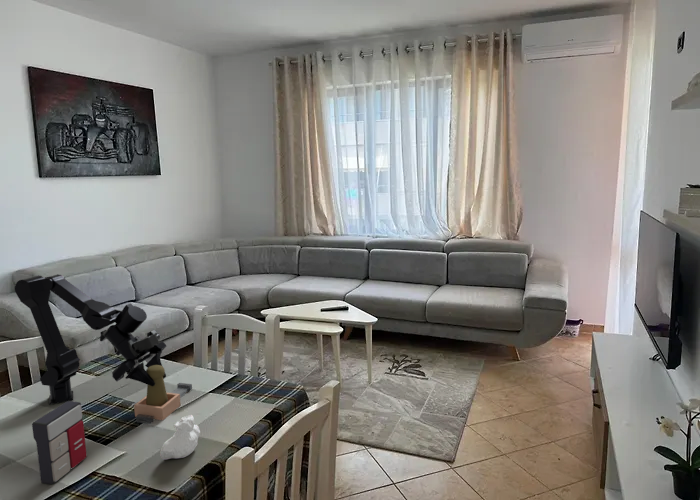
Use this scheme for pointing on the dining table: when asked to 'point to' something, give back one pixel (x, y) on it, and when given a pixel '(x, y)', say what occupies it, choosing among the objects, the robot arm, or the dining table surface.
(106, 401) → the dining table surface
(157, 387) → the cork
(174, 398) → the tray
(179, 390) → the rail
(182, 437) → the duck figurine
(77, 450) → the calculator
